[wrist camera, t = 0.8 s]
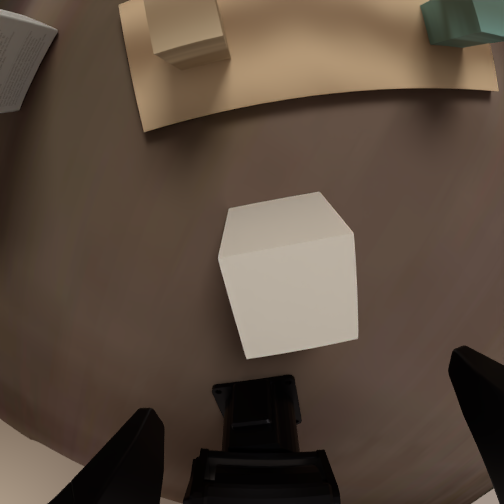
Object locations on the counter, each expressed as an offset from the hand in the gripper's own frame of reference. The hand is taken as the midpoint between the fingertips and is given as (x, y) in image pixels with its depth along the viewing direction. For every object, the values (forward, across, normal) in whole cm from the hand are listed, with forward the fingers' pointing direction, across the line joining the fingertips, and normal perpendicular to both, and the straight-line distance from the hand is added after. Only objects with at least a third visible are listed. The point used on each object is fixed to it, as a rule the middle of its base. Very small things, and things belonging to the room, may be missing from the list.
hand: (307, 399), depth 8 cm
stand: (+12, -5, -12) cm, 17 cm away
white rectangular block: (+12, 0, 0) cm, 12 cm away
